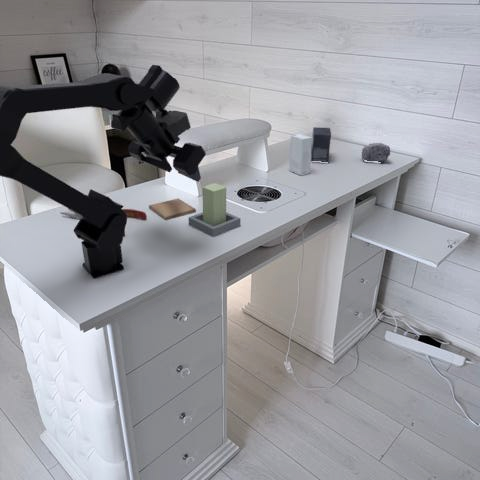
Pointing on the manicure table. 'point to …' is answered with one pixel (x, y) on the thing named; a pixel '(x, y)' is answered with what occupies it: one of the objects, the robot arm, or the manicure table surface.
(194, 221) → the gray square frame
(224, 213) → the olive block
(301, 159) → the skincare box
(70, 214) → the pliers
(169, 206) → the walnut pad
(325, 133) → the small box
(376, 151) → the pumice stone
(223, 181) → the manicure table surface
